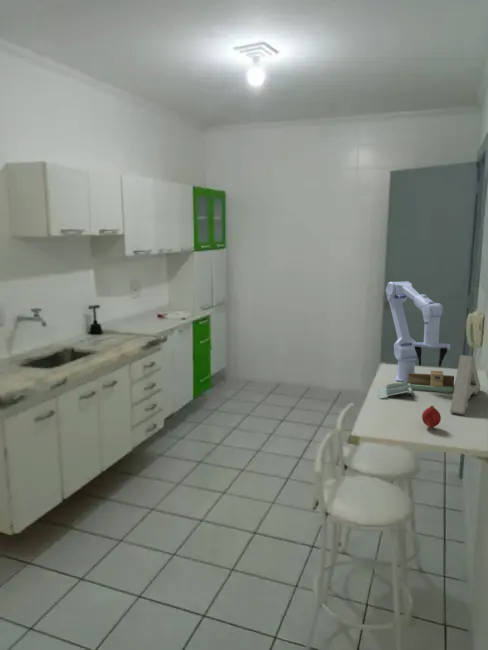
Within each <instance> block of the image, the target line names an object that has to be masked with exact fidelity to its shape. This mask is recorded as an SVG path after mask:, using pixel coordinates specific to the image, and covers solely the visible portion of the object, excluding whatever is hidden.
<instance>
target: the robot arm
mask: <svg viewBox="0 0 488 650" xmlns="http://www.w3.org/2000/svg"><path fill="white" fill-rule="evenodd" d="M385 293H386V297H387V301H388V303H389V307H390V311H391V315H392V316H391V317H392V319H393V324H394V328H395V333H396V337H397V339H396V341H395V342H394V344H393V355H394V358H395V359H396V360H397V370H396V371H397V372H396V373H397V374H396V375H395V381H396V382H397V381H398V382H404V381H407V383H408V378H409V373H415V367H416V361H417V359H418V366H422V349H438V350H439V358H438V367H442V362H443V360H444V358H445V357H446V354H447V353H448V350H451V344H450V343H440V342H439V340H440V339H439V338H440V322H441V317H443V315H444V312H445V311H444V306H443V304H441V303H440V302H434V301H433V300H432V299H430V298H429V297H428V295H426V294H420V293H419V292H418V291H417V290H416V289H415V288H414V287H413V283H411V282H410V281H408V280H407V281H389V282H388V283H387V285H386V288H385ZM408 298H409V299H410V300H412V301H413V305H414V306H415V307H416V308H418V309H419V310H420V311H421V312H422V313H421V314H422V317H423V322H424V331H423V341H422V342H418V341H416V340H415V339H414V338H412V337H411V335H410V331H409V325H408V322H407V318H406V315H405V311H404V306H403V303H405V302H406V301H407V299H408Z"/></svg>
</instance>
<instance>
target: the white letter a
mask: <svg viewBox="0 0 488 650" xmlns="http://www.w3.org/2000/svg"><path fill="white" fill-rule="evenodd" d="M476 367H477V366H476V363H475V358H474V356H473V355H467V354H460V355H459V360H458V366H457V373H456V377H455V381H454V382H455V383H454V388H453V395H452V398H451V399H452V400H451V406H450V409H449V410H450V414H453V415H455V414H456V415H460V416H465V411H466V410H467V406H468V400H470V398H471V396H472V395H473V396H478V394H479V393H478V392H479V391H480V390H481V383H480V379H479V376H478V375H479V374H478V370H477V368H476Z"/></svg>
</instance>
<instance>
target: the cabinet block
mask: <svg viewBox="0 0 488 650" xmlns="http://www.w3.org/2000/svg"><path fill="white" fill-rule="evenodd" d="M430 374H431V377H430V386H437V387H443V375H444V372H443V370H430Z"/></svg>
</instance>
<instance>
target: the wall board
mask: <svg viewBox="0 0 488 650" xmlns="http://www.w3.org/2000/svg"><path fill="white" fill-rule="evenodd" d="M430 377H431V373H415V372H414V373H409V378H408V382H407V383H408V384H409V383H410V385H411V384H419V385H430ZM454 382H455V375H447V374H443V386H447V387H451V388H453V389H454V388H455V383H454Z"/></svg>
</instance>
